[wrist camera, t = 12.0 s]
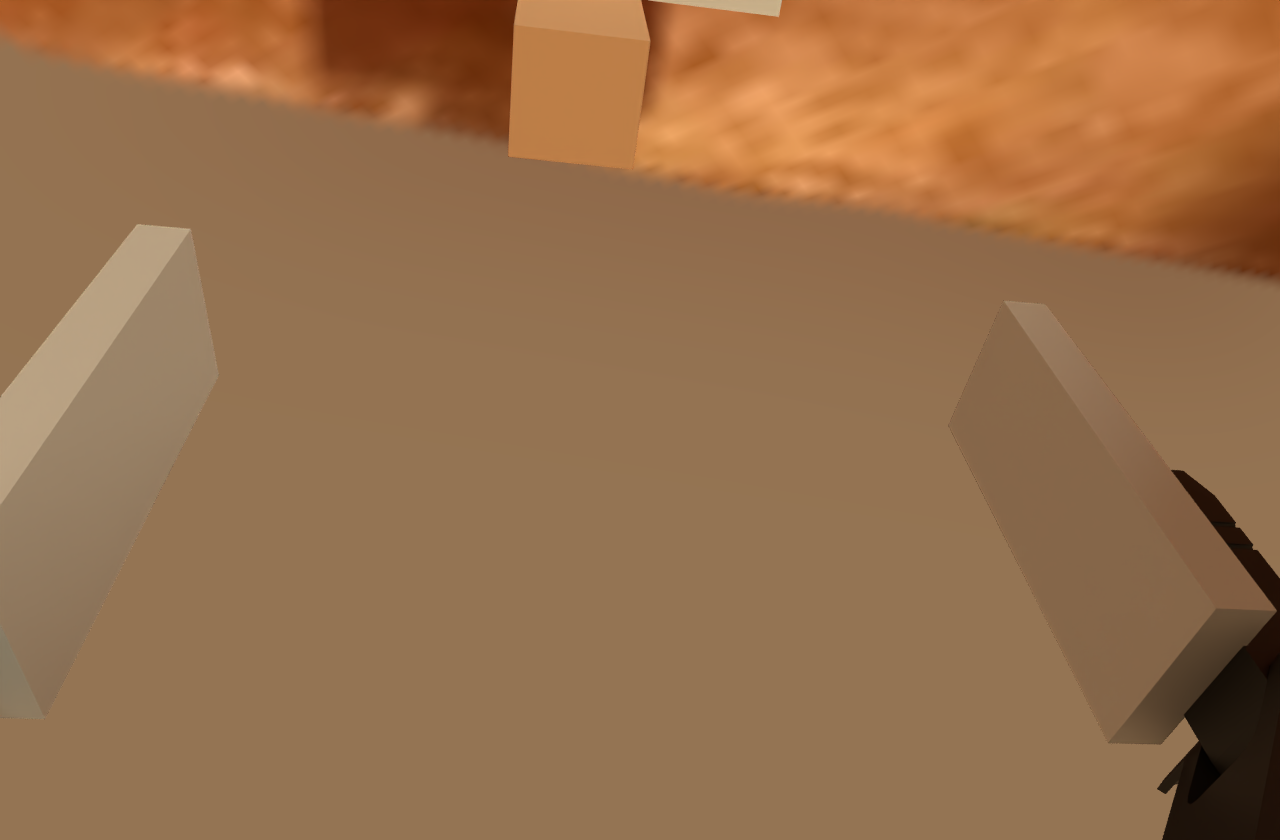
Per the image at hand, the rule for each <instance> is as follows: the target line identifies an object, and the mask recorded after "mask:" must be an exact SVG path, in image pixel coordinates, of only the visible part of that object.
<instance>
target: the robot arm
mask: <svg viewBox="0 0 1280 840" xmlns="http://www.w3.org/2000/svg"><path fill="white" fill-rule="evenodd" d="M218 376H219V374H218V369H217V364H216V359H215V353H214V348H213V343H212V337H211V332H210V327H209V322H208V317H207V312H206V306H205V301H204V295H203V290H202V285H201V280H200V275H199V269H198V264H197V259H196V253H195V248H194V243H193V238H192V232H191V229H185V228H174V227H163V226H151V225H140V224H137V225H136V227H135V228H134V229H133V230H132V232H131V233H130V234H129V235H128V237H127V238H126V239H125V241H124V242H123V243H122V244H121V246H120V247H119V248H118V249H117V251H116V252H115V253H114V254H113V256H112V257H111V258H110V259H109V261H108V262H107V263H106V264H105V266H104V267H103V268H102V270H101V271H100V272H99V273H98V275H97V276H96V277H95V278H94V280H93V281H92V282H91V283H90V285H89V286H88V287H87V288H86V290H85V291H84V292H83V293H82V295H81V296H80V297H79V299H78V300H77V301H76V302H75V304H74V305H73V306H72V307H71V309H70V310H69V311H68V312H67V314H66V315H65V316H64V317H63V319H62V320H61V321H60V322H59V324H58V325H57V326H56V328H55V329H54V330H53V332H52V333H51V334H50V335H49V336H48V338H47V339H46V340H45V341H44V343H43V344H42V345H41V346H40V348H39V349H38V350H37V352H36V353H35V354H34V355H33V357H32V358H31V359H30V360H29V362H28V363H27V364H26V366H25V367H24V368H23V369H22V371H21V372H20V373H19V374H18V376H17V377H16V378H15V379H14V380H13V382H12V383H11V385H10V386H9V387H8V388H7V389H6V391H5V392H4V393H3V394H2V396H1V397H0V718H29V719H30V718H31V719H45V718H46V716H47V714H48V712H49V710H50V708H51V706H52V704H53V702H54V700H55V698H56V696H57V694H58V692H59V690H60V688H61V686H62V684H63V682H64V680H65V678H66V676H67V675H68V673H69V671H70V669H71V667H72V665H73V663H74V661H75V659H76V657H77V654H78V653H79V651H80V649H81V647H82V645H83V643H84V641H85V639H86V637H87V635H88V633H89V631H90V629H91V627H92V625H93V623H94V621H95V619H96V617H97V615H98V613H99V611H100V609H101V607H102V605H103V603H104V601H105V599H106V597H107V595H108V593H109V591H110V589H111V587H112V585H113V583H114V581H115V580H116V577H117V575H118V574H119V572H120V570H121V567H122V566H123V564H124V562H125V559H126V558H127V556H128V554H129V552H130V550H131V548H132V546H133V544H134V542H135V540H136V538H137V536H138V534H139V532H140V530H141V528H142V526H143V524H144V522H145V520H146V518H147V516H148V514H149V512H150V510H151V508H152V506H153V504H154V502H155V500H156V498H157V496H158V494H159V492H160V490H161V488H162V486H163V484H164V482H165V481H166V478H167V477H168V475H169V473H170V471H171V469H172V467H173V465H174V463H175V461H176V458H177V457H178V455H179V453H180V451H181V449H182V447H183V445H184V443H185V441H186V439H187V437H188V435H189V433H190V431H191V429H192V427H193V425H194V423H195V421H196V419H197V417H198V414H199V413H200V411H201V409H202V407H203V405H204V403H205V401H206V399H207V397H208V395H209V393H210V391H211V389H212V387H213V385H214V384H215V382H216V380H217V378H218ZM949 428H950V430H951V432H952V434H953V436H954V438H955V440H956V442H957V444H958V446H959V448H960V450H961V452H962V454H963V456H964V458H965V459H966V461H967V464H968V465H969V467H970V470H971V472H972V474H973V476H974V478H975V480H976V482H977V483H978V485H979V487H980V490H981V492H982V494H983V495H984V497H985V499H986V501H987V503H988V505H989V507H990V509H991V511H992V513H993V515H994V517H995V519H996V521H997V523H998V525H999V527H1000V529H1001V531H1002V533H1003V535H1004V537H1005V539H1006V541H1007V543H1008V545H1009V547H1010V549H1011V551H1012V553H1013V555H1014V557H1015V559H1016V561H1017V563H1018V565H1019V567H1020V569H1021V571H1022V573H1023V575H1024V577H1025V579H1026V581H1027V583H1028V585H1029V587H1030V589H1031V591H1032V593H1033V595H1034V597H1035V599H1036V601H1037V603H1038V605H1039V607H1040V609H1041V611H1042V613H1043V615H1044V617H1045V619H1046V620H1047V622H1048V625H1049V627H1050V629H1051V631H1052V633H1053V635H1054V637H1055V639H1056V641H1057V643H1058V644H1059V647H1060V648H1061V651H1062V653H1063V655H1064V657H1065V658H1066V660H1067V662H1068V665H1069V666H1070V668H1071V670H1072V672H1073V674H1074V676H1075V678H1076V680H1077V682H1078V684H1079V686H1080V688H1081V690H1082V692H1083V694H1084V696H1085V698H1086V700H1087V702H1088V704H1089V706H1090V708H1091V710H1092V712H1093V714H1094V716H1095V718H1096V720H1097V722H1098V724H1099V726H1100V728H1101V730H1102V732H1103V734H1104V736H1105V738H1106V740H1107V742H1108V743H1125V744H1162V743H1163V742H1164V740H1165V739H1166V738H1167V737H1168V736H1169V735H1170V734H1171V732H1172V731H1173V730H1174V729H1175V728H1176V727H1177V725H1178V724H1179V723H1180V722H1181V721H1182V720H1183V719H1184V717H1185V718H1186V720H1187V721H1188V723H1189V725H1190V726H1191V728H1192V730H1193V732H1194V733H1195V735H1196V737H1197V738H1198V740H1199V741H1198V742H1197V744H1196V745H1195V746H1194V747H1193V748H1192V749H1191V750H1190V751H1189V752H1188V754H1186V756H1185V757H1184V758H1183V759H1182V760H1181V761H1180V762H1179V763H1178V765H1176V767H1175V768H1174V769H1173V770H1172V771H1171V772H1170V773H1169V774H1168V775H1167V777H1166V778H1165V779H1164V780H1163V781H1162V783H1161V784H1160V786H1159V787H1158V788H1157V789H1158V790H1160V791H1161V792H1163V793H1165V794H1166V793H1167V792H1168V791H1169V790H1170V789H1171V788H1172V786H1173V785H1175V784H1178V786H1177V789H1176V793H1175V797H1174V800H1173V803H1172V807H1171V810H1170V814H1169V817H1168V821H1167V825H1166V828H1165V831H1164V835H1163V839H1162V840H1280V578H1279V577H1278V576H1277V575H1276V573H1275V572H1274V571H1273V569H1272V568H1271V567H1270V565H1269V564H1268V563H1267V562H1266V560H1265V559H1264V558H1263V557H1262V555H1261V554H1260V553H1259V551H1257V550H1253V548H1252V546H1253V544H1252V543H1251V541H1250V540H1249V539H1248V537H1247V536H1246V535H1245V534H1244V532H1243V531H1242V530H1241V529H1240V528H1236V527H1235V523H1236V522H1235V521H1234V520H1233V518H1232V517H1231V516H1230V514H1229V513H1228V512H1227V511H1226V509H1225V508H1224V507H1223V506H1222V504H1221V503H1220V502H1219V500H1218V499H1217V498H1216V497H1215V495H1213V494H1212V493H1211V492H1209V491H1208V490H1207V489H1206V488H1204V487H1203V486H1202V485H1201V484H1199V483H1198V482H1197V481H1196V480H1194V479H1193V478H1192V477H1190V476H1189V475H1188V474H1187V473H1185V472H1184V471H1180V470H1170V469H1169V467H1168V466H1167V465H1166V464H1165V462H1164V461H1163V459H1162V458H1161V457H1160V455H1159V454H1158V453H1157V451H1156V450H1155V449H1154V447H1153V446H1152V445H1151V443H1150V442H1149V441H1148V439H1147V438H1146V437H1145V435H1144V434H1143V433H1142V431H1141V430H1140V429H1139V427H1138V426H1137V425H1136V424H1135V422H1134V421H1133V420H1132V418H1131V417H1130V416H1129V414H1128V413H1127V412H1126V410H1125V409H1124V408H1123V406H1122V405H1121V404H1120V402H1119V401H1118V400H1117V399H1116V397H1115V396H1114V394H1113V393H1112V392H1111V390H1110V389H1109V388H1108V386H1107V385H1106V384H1105V383H1104V381H1103V380H1102V379H1101V377H1100V376H1099V374H1098V373H1097V372H1096V371H1095V369H1094V368H1093V367H1092V365H1091V364H1090V363H1089V361H1088V360H1087V359H1086V357H1085V356H1084V355H1083V353H1082V352H1081V351H1080V349H1079V348H1078V347H1077V345H1076V344H1075V343H1074V341H1073V340H1072V339H1071V337H1070V336H1069V335H1068V333H1067V332H1066V331H1065V329H1064V328H1063V327H1062V325H1061V324H1060V323H1059V321H1058V320H1057V319H1056V318H1055V316H1054V315H1053V314H1052V312H1051V311H1050V310H1049V308H1048V307H1047V306H1046V305H1045V304H1038V303H1027V302H1014V301H1003V303H1002V305H1001V307H1000V310H999V312H998V314H997V316H996V318H995V321H994V323H993V325H992V328H991V330H990V332H989V334H988V337H987V339H986V341H985V343H984V346H983V348H982V350H981V352H980V355H979V357H978V359H977V362H976V364H975V366H974V369H973V371H972V373H971V375H970V377H969V380H968V382H967V384H966V386H965V389H964V391H963V394H962V396H961V398H960V400H959V402H958V405H957V407H956V409H955V411H954V414H953V416H952V418H951V421H950V423H949Z"/></svg>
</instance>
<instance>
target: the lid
mask: <svg viewBox="0 0 1280 840" xmlns="http://www.w3.org/2000/svg"><path fill="white" fill-rule="evenodd" d="M650 1H658V2H666V3H674V4H682V5H690V6H698V7H706V8H714V9H722V10H730V11H738V12H746V13H754V14H762V15H770V16H778V17H779V12H780V8H781V3H782V0H650ZM649 49H650V37H649V33H648V28H647V24H646V20H645V15H644V11H643V7H642V2H641V0H518V2H517V9H516V15H515V22H514V36H513V58H512V80H511V102H510V124H509V146H508V157H517V158H527V159H536V160H546V161H556V162H566V163H576V164H586V165H596V166H606V167H616V168H625V169H633V167H634V160H635V152H636V145H637V138H638V130H639V123H640V115H641V108H642V100H643V93H644V86H645V78H646V71H647V63H648V56H649Z"/></svg>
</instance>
